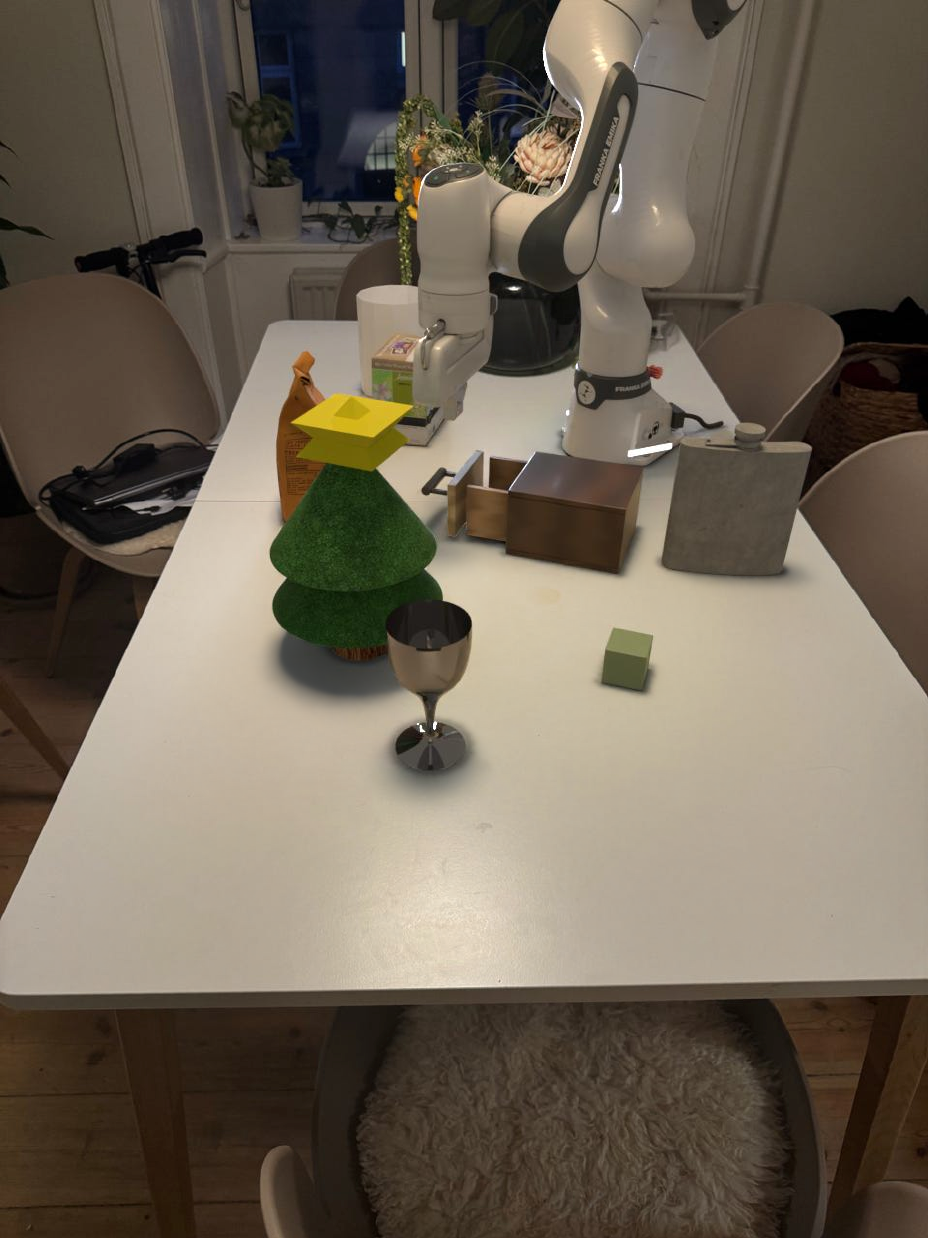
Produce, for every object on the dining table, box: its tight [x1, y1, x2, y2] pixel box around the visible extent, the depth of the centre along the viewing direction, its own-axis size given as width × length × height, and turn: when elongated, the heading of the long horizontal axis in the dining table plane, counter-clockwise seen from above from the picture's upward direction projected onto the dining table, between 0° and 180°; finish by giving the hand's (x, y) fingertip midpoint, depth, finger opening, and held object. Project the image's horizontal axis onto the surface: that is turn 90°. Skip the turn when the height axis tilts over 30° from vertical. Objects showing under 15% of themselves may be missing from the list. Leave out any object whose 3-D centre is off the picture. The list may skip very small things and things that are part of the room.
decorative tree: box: [268, 392, 444, 662], centre depth 94 cm, size 19×19×30 cm
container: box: [355, 284, 425, 398], centre depth 169 cm, size 14×14×18 cm
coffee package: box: [275, 350, 327, 522], centre depth 125 cm, size 10×12×22 cm
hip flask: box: [660, 422, 813, 576], centre depth 112 cm, size 16×4×20 cm, turn 85°
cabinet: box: [505, 450, 645, 575], centre depth 121 cm, size 16×14×10 cm
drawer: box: [420, 450, 529, 542], centre depth 124 cm, size 19×12×8 cm, turn 71°
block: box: [600, 627, 654, 691], centre depth 97 cm, size 4×4×4 cm
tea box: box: [371, 334, 444, 446], centre depth 153 cm, size 15×10×15 cm, turn 168°
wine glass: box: [385, 599, 473, 772], centre depth 84 cm, size 8×8×15 cm
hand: (453, 416), depth 117 cm, fingers closed
